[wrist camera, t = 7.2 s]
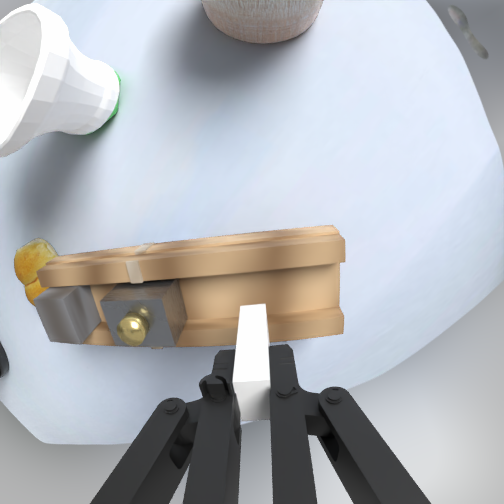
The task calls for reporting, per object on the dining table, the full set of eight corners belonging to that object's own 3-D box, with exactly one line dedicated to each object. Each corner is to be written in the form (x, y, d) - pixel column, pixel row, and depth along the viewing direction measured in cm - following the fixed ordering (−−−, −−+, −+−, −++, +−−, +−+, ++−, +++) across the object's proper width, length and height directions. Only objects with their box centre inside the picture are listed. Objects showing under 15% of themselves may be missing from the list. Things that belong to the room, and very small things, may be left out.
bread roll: (44, 308, 31) (28, 322, 27) (18, 248, 28) (-1, 258, 24) (81, 297, 30) (64, 312, 26) (52, 229, 27) (31, 238, 23)
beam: (96, 309, 30) (52, 358, 20) (77, 243, 27) (19, 278, 18) (324, 294, 28) (350, 355, 19) (322, 214, 26) (356, 245, 16)
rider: (134, 319, 23) (109, 354, 18) (122, 279, 22) (91, 309, 17) (187, 317, 22) (171, 357, 17) (177, 274, 21) (155, 307, 16)
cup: (106, 170, 25) (0, 189, 11) (42, 129, 23) (-54, 132, 10) (162, 70, 22) (82, 8, 8) (87, 41, 20) (3, 0, 7)
